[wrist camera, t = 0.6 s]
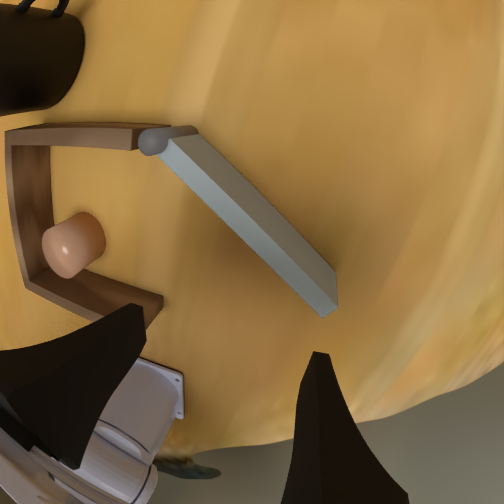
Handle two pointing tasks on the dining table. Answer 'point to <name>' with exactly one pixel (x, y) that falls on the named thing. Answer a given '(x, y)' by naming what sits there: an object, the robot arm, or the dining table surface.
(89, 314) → the cubby
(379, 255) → the dining table surface
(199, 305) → the dining table surface
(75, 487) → the robot arm
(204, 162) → the door
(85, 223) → the tan rounded cylinder
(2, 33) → the mug
